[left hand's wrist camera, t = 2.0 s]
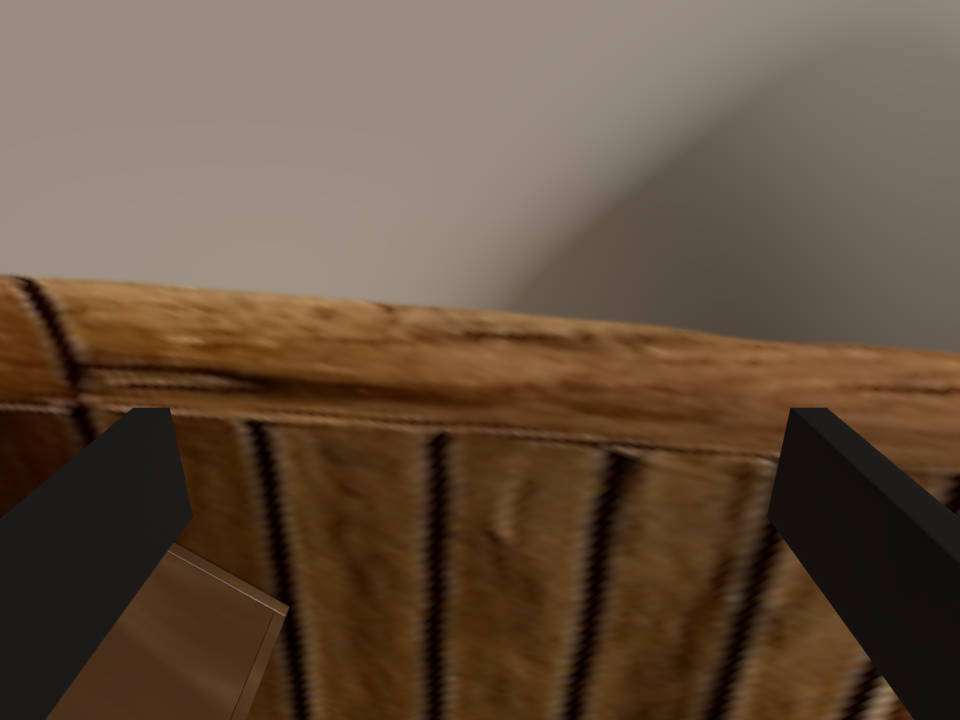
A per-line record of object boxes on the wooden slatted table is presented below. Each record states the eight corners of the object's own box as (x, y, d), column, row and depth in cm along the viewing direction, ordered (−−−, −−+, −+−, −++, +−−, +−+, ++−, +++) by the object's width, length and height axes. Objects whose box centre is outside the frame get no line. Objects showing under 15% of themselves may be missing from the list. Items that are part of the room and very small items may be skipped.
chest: (181, 712, 39) (73, 936, 29) (38, 644, 37) (-135, 864, 27) (289, 606, 34) (203, 831, 24) (134, 518, 32) (-35, 731, 22)
